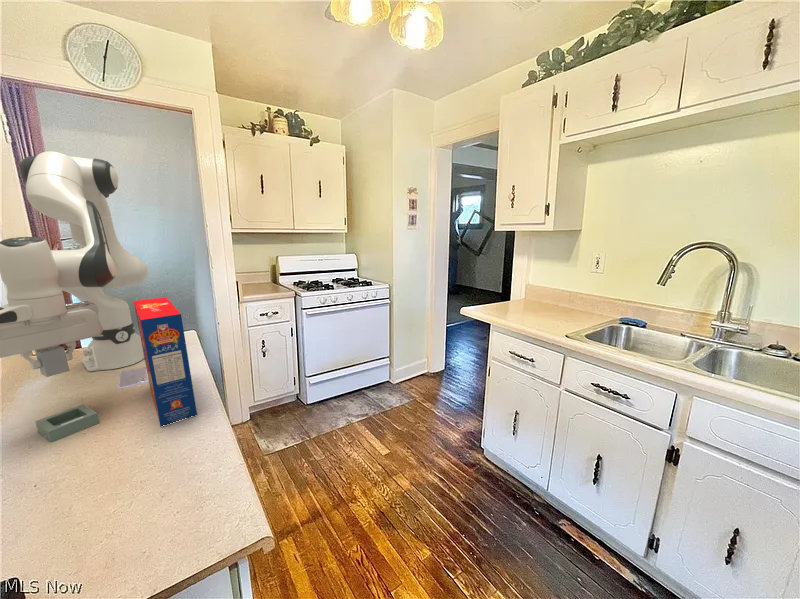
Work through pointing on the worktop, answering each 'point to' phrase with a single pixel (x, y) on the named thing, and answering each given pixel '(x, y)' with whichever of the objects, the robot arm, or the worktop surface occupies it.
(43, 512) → the worktop surface
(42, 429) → the green square tray
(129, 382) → the mobile phone
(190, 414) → the pasta box
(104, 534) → the worktop surface
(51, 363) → the block
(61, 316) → the robot arm
